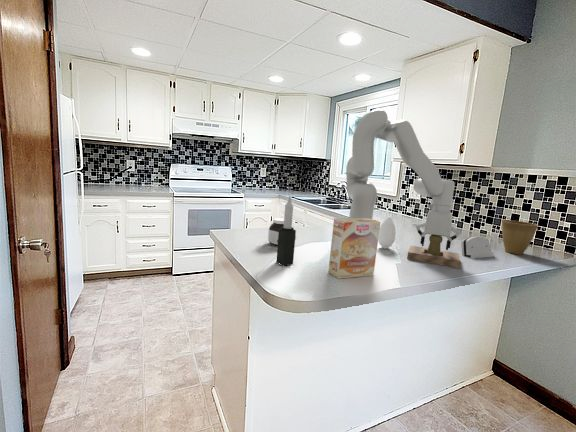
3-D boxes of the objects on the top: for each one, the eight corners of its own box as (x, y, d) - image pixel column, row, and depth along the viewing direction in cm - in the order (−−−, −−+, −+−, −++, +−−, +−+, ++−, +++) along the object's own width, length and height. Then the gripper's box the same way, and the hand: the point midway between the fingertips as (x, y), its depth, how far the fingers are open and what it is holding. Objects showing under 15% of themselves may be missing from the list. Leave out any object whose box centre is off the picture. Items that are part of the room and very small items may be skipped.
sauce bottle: (375, 245, 156) (380, 209, 153) (391, 247, 155) (396, 210, 152) (377, 249, 148) (382, 211, 145) (395, 251, 147) (400, 213, 144)
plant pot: (538, 256, 158) (545, 225, 155) (515, 256, 154) (522, 224, 152) (511, 248, 172) (517, 219, 170) (489, 248, 168) (495, 219, 166)
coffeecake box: (338, 279, 105) (344, 221, 102) (327, 271, 111) (332, 217, 108) (374, 275, 111) (381, 221, 108) (362, 269, 117) (368, 217, 114)
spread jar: (266, 245, 139) (267, 219, 138) (271, 239, 150) (273, 215, 149) (292, 248, 138) (295, 222, 136) (296, 242, 149) (298, 218, 147)
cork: (437, 258, 141) (441, 234, 139) (442, 262, 135) (446, 237, 133) (423, 256, 141) (426, 232, 139) (427, 260, 135) (431, 235, 134)
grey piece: (471, 258, 145) (468, 236, 147) (462, 258, 149) (459, 237, 151) (494, 256, 152) (491, 235, 154) (485, 256, 156) (482, 236, 158)
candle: (284, 260, 121) (290, 195, 117) (294, 263, 117) (300, 197, 113) (275, 262, 117) (279, 195, 113) (284, 266, 114) (289, 197, 109)
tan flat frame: (407, 258, 136) (408, 251, 136) (409, 251, 149) (410, 245, 148) (459, 268, 128) (460, 261, 127) (457, 259, 140) (458, 253, 140)
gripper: (418, 207, 135) (412, 245, 138) (464, 212, 128) (457, 253, 130) (419, 205, 141) (413, 242, 144) (462, 210, 134) (456, 249, 137)
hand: (434, 247), depth 137 cm, fingers open, 9 cm apart
